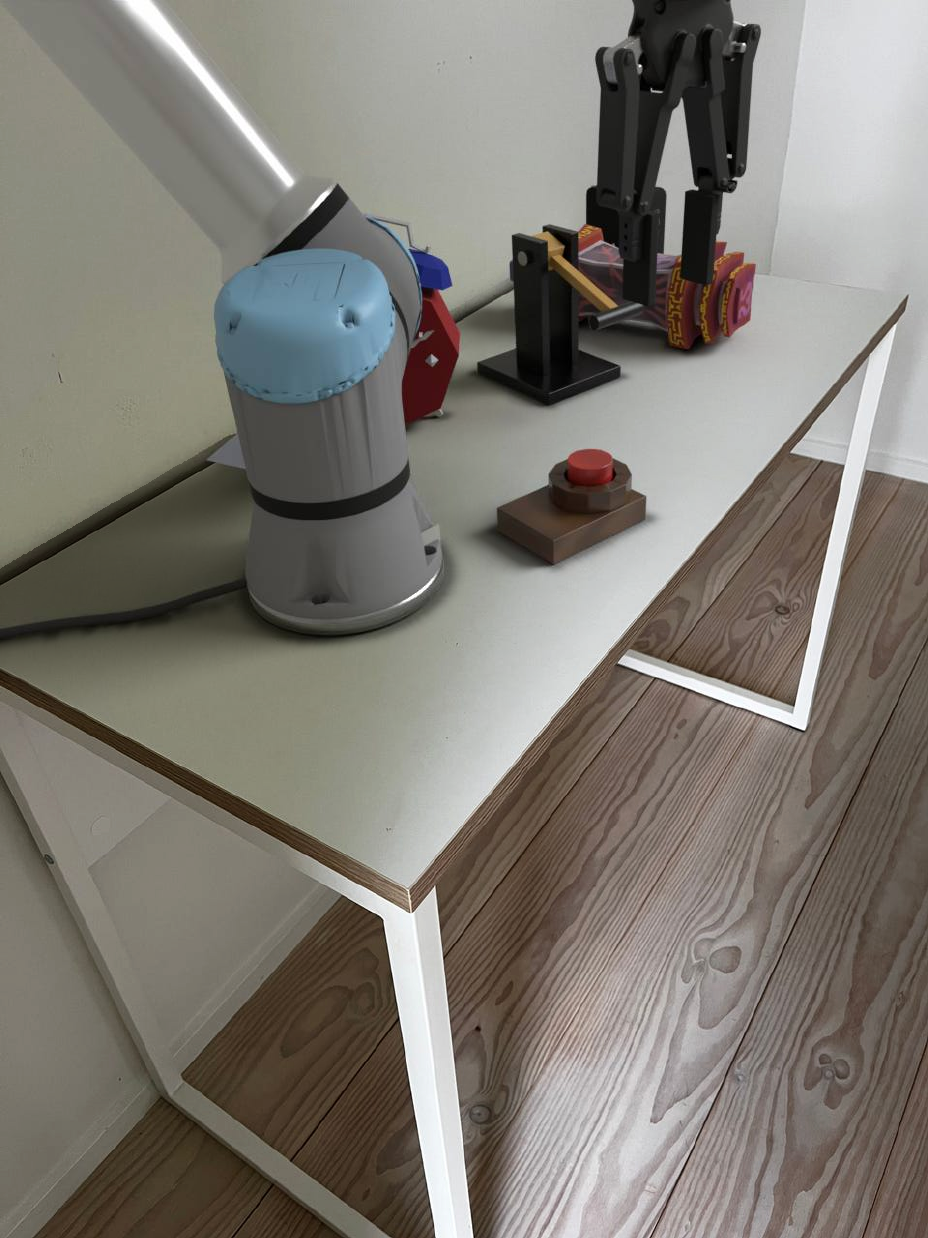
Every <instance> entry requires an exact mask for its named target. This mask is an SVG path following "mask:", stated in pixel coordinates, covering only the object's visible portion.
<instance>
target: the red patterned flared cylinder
mask: <svg viewBox="0 0 928 1238" xmlns="http://www.w3.org/2000/svg"><path fill="white" fill-rule="evenodd" d="M569 229H570V230H572V229H571V228H569ZM577 232H579V272H580V273H581V274H582V275H583V276H585V277H586V278H587V279H588V280H589V281H590V282H591V283H593V284H594V285H595V286H596V287H597V288H598V289H599V290H601V291H602V292H603V293H604V294H605V295H606V296H607V297H609V298H610V299H611V300H612V301H613V302H614V303H615V304H616V305H618V306H620V305H622V304H625V303H628V302H631V301H628V300H625V299H622V294H623V259H622V258H620V255H619V248H617V247H615V246H612V245H610V244H608V243H606V242H604V240H603V234H602V230H601V228H597V227H594V226H590V225H587V224H586V223H584V224H583V225H582V226H581V228H580V229H579V230H578V231H577ZM727 244H728V242H727V241H720V240H716V248H715V261H714V274H713V283H712V284H710V285H707V286H705V285H701V284H698V283H694V282H691V281H687V280H684V279H680V271H681V254H678V255H675V254H667V253H664V254H659V253H657V275H656V297H655V304H654V305H651V306H649V307H647V306H644V311H643V313H642V314H640V315H637V316H635V317H632V318H629V319H626V320H625V321H634V322H639V323H640V322H641V323H646V324H651V325H653V326H655V327H657V328H659V329H661V330H663V331H665V332H667V334H668V336H667V337H668V346H670V347H675V348H679V349H684V350H690V348H691V347H692V345H693V344H694V341H695V339H697V338H698V337H699V336H700V335H702V338H703V339H702V340H703V342H704V344H706V345H713V344H714V343H715V342H716V341H717V339H718V338H719V335H721V334H722V336H723V338H731V337H732V336H733V335H734V333H735V332H736V331H738V329H740V328H741V327H743V326H745V325H746V324H748V323H749V322H750V321H751V319H752V318H751V317H752V303H753V302H752V301H753V291H754V280H755V279H754V278H755V275H756V274H755V273H756V267H757V264H756V263H754V262H745V263H744V260H745V252H742V251H734V252H729V253H726V254H725V251H726V249H727ZM509 280H510V282H513V259H511V260H510V261H509ZM600 312H601V311H600V310H599V309H598V308H597V307H596V306H595V305H593V304H592V303H591V302H590V301H589V300H588V299H587V298H586V297H584V296H583V295H582V294H581V293H580V292H579V323H580V322H581V321H583V320H584V319H586V318H587V317H590V316H591V315H594V314H597V313H600Z"/></svg>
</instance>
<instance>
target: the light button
mask: <svg viewBox="0 0 928 1238" xmlns="http://www.w3.org/2000/svg"><path fill="white" fill-rule="evenodd" d="M613 458H614V457H613V456H612V455H611V454H610V453H609V452H607V451H605V450H603V449H598V448H584V449H579V450H576V451H574V452H571V453H570V454H569V455H568V457H567V458H566V459H567V470H568V481H569V482H570V483H572V484H574V485H579V486H586V487H593V486H601V485H604V484H606V483H608V482H611V480H612V470H613Z"/></svg>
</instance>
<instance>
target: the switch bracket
mask: <svg viewBox="0 0 928 1238" xmlns="http://www.w3.org/2000/svg"><path fill="white" fill-rule="evenodd" d="M570 229H571V228H565V227H562V226H558V225H554V224H551V223H549V224H546V225H545V224H544V225H542V233H544V232H547V231H548V232H549V233H550V234H551V235H552V236H554V237H555V238H556V239H557V240H558V241H559V242H560V243H562V244H563V245H564V246H565V248H564V252H563V256H562V257H563V258H564V259H565V260H566V261H568V262H569V263H570V264H571V265H572V266H573V267H574V268H576V269H577V270H578V271H579V232H578V231H577V230H573V229H571V230H570ZM532 236H533V235H529V234H524V233H521V232H517V233H514V234H511V249H512V250H511V252H512V253H511V254H512V260H513V281H512V282H513V302H514V306H513V308H514V328H515V348H513V349H510V350H508V351H507V350H506V351H505V352H503V353H499V354H496V355H494V356H491V357H488V358H487V357H486V358H485V359H482V360H480V361H477V362H476V369H477V374H479V375H481V376H483V377H485V378H488V379H490V380H492V381H494V382H497V383H499V384H501V385H504V386H505V387H508V388H510V389H512V390H514V391H516V392H519V393H520V394H523V395H525V396H528V397H530V398H532V399H535V400H537V401H539V402H541V403H543V404H545V405H547V406H550V405H554V404H556V403H558V402H562V401H563V400H566V399H569V398H571V397H574V396H576V395H578V394H581V393H583V392H586V391H589V390H591V389H594V388H596V387H599V386H601V385H604V384H606V383H608V382H611V381H614V380H616V379H618V378H621V373H622V369H621V367H622V366H621V365H620V364H617V363H614V362H613V361H610V360H607V359H604V358H601V357H599V356H596V355H594V354H591V353H589V352H586V351H583V350H581V349H580V348H579V347H580V345H579V344H580V342H579V341H580V340H579V336H580V332H579V331H580V327H579V325H580V324H579V323H580V322H579V291H578V290H577V289H575V288H574V287H573V286H572V285H571V284H570V283H569V282H568V281H566V280H565V279H564V278H563V277H562V276H561V275H560V274H559V273H558V272H556V271H555V270H554V269H552V270H549V271H548V241H546V240H543V239H539V238H536V237H532Z"/></svg>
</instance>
